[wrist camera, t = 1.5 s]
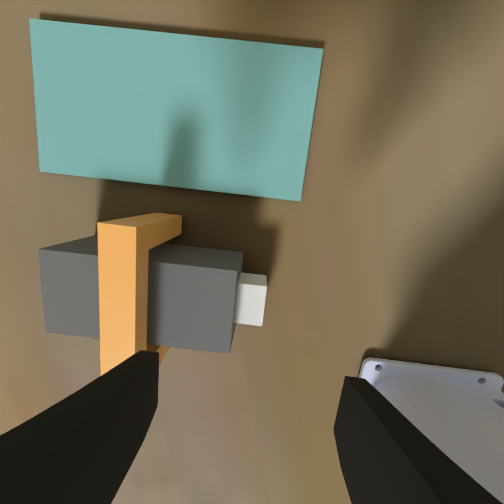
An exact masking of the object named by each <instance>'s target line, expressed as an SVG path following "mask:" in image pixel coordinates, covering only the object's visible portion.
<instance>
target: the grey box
mask: <svg viewBox="0 0 504 504" xmlns="http://www.w3.org/2000/svg"><path fill="white" fill-rule="evenodd" d="M38 250H39V262H40V273H41V285H42V297H43V309H44V321H45V332H49V333H57V334H66V335H74V336H83V337H91V338H100V316H99V272H98V236H91V237H87V238H82V239H78V240H74V241H70V242H66V243H62V244H58V245H53V246H49V247H45V248H41V249H38ZM243 256H244V252H243V251H234V250H224V249H215V248H206V247H197V246H187V245H178V244H169V243H162V244H160V245H157V246H155V247H153V248H151V249H149V253H148V299H147V344H151V345H160V346H168V347H177V348H185V349H194V350H202V351H211V352H219V353H228V354H230V350H231V345H232V340H233V336H234V331H235V326H236V323H239V324H248V325H256V326H262V322H263V314H264V305H265V297H266V289H267V278H266V275H259V274H250V273H242V267H243Z"/></svg>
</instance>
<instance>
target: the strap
mask: <svg viewBox="0 0 504 504" xmlns="http://www.w3.org/2000/svg"><path fill="white" fill-rule="evenodd" d="M97 228H98V272H99V316H100V360H101V376H102V375H103V374H105V373H106V372H108V371H109V370H111V369H112V368H114V367H115V366H117V365H118V364H120V363H121V362H123V361H124V360H126V359H127V358H129V357H130V356H132V355H134V354H135V353H137V352H139V351H140V350H144V351H152V352H159V364H160V363H161V361H162V359H163V358H164V356H165V354H166V353H167V351H168V350H169V348H170V347H168V346H160V345H151V344H147V299H148V253H149V249H151V248H153V247H155V246H157V245H160V244H162V243H164V242H166V241H168V240H170V239H172V238H174V237H176V236H178V235H180V234H181V228H182V215H174V214H166V213H151V214H145V215H139V216H133V217H127V218H121V219H116V220H110V221H104V222H98V223H97Z"/></svg>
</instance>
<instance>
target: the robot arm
mask: <svg viewBox="0 0 504 504" xmlns="http://www.w3.org/2000/svg"><path fill="white" fill-rule="evenodd" d="M379 364H380V366H379V367H375V366H376V365H379ZM158 376H159V352H152V351H144V350H140V351H139V352H137V353H135V354H134V355H132V356H130V357H129V358H127V359H126V360H124V361H123V362H121V363H120V364H118V365H117V366H115V367H114V368H112V369H111V370H109V371H108V372H106V373H105V374H103V375H102V376H100V377H98V378H97V379H95V380H94V381H92V382H91V383H89V384H88V385H86V386H84V387H83V388H81V389H80V390H78V391H77V392H75V393H73V394H72V395H70V396H68V397H67V398H65V399H63V400H61V401H60V402H58V403H56V404H55V405H53V406H51V407H50V408H48V409H46V410H45V411H43V412H41V413H40V414H38V415H36V416H35V417H33V418H31V419H29V420H28V421H26V422H24V423H22V424H20V425H19V426H17V427H15V428H13V429H11V430H10V431H8V432H6V433H4V434H2V435H0V504H111V503H112V501H113V499H114V497H115V495H116V493H117V491H118V489H119V487H120V485H121V484H122V482H123V480H124V478H125V476H126V474H127V472H128V470H129V468H130V466H131V464H132V462H133V460H134V459H135V457H136V455H137V453H138V451H139V449H140V447H141V445H142V443H143V441H144V439H145V436H146V434H147V431H148V429H149V426H150V424H151V421H152V419H153V416H154V414H155V411H156V408H157V404H158ZM479 378H480V379H479ZM478 379H479V380H478ZM503 383H504V380H503V378H502V377H501V376H500V375H498V374H497V373H492V372H484V371H476V370H468V369H460V368H452V367H444V366H436V365H428V364H420V363H412V362H404V361H396V360H388V359H380V358H372V357H370V358H366V359H365V360H363V363H362V366H361V371H360V375H359V378H357V377H349V376H345V379H344V384H343V388H342V393H341V397H340V402H339V406H338V411H337V415H336V420H335V424H334V435H335V440H336V446H337V451H338V456H339V460H340V465H341V469H342V473H343V476H344V480H345V483H346V486H347V490H348V493H349V496H350V500H351V503H352V504H504V393H503V392H501V389H502V386H503Z"/></svg>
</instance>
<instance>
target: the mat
mask: <svg viewBox="0 0 504 504" xmlns="http://www.w3.org/2000/svg"><path fill="white" fill-rule="evenodd" d="M29 21H30V35H31V50H32V64H33V79H34V93H35V107H36V122H37V136H38V151H39V165H40V172H49V173H58V174H67V175H75V176H84V177H93V178H102V179H110V180H119V181H128V182H136V183H145V184H154V185H163V186H171V187H180V188H189V189H198V190H206V191H215V192H224V193H233V194H241V195H250V196H259V197H268V198H276V199H285V200H294V201H301V194H302V188H303V181H304V175H305V168H306V161H307V155H308V148H309V141H310V135H311V128H312V121H313V115H314V108H315V101H316V95H317V88H318V82H319V75H320V68H321V62H322V55H323V49H320V48H310V47H301V46H291V45H281V44H272V43H262V42H252V41H243V40H233V39H223V38H214V37H204V36H194V35H185V34H175V33H165V32H155V31H146V30H136V29H126V28H117V27H107V26H97V25H88V24H78V23H68V22H59V21H49V20H39V19H29Z"/></svg>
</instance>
